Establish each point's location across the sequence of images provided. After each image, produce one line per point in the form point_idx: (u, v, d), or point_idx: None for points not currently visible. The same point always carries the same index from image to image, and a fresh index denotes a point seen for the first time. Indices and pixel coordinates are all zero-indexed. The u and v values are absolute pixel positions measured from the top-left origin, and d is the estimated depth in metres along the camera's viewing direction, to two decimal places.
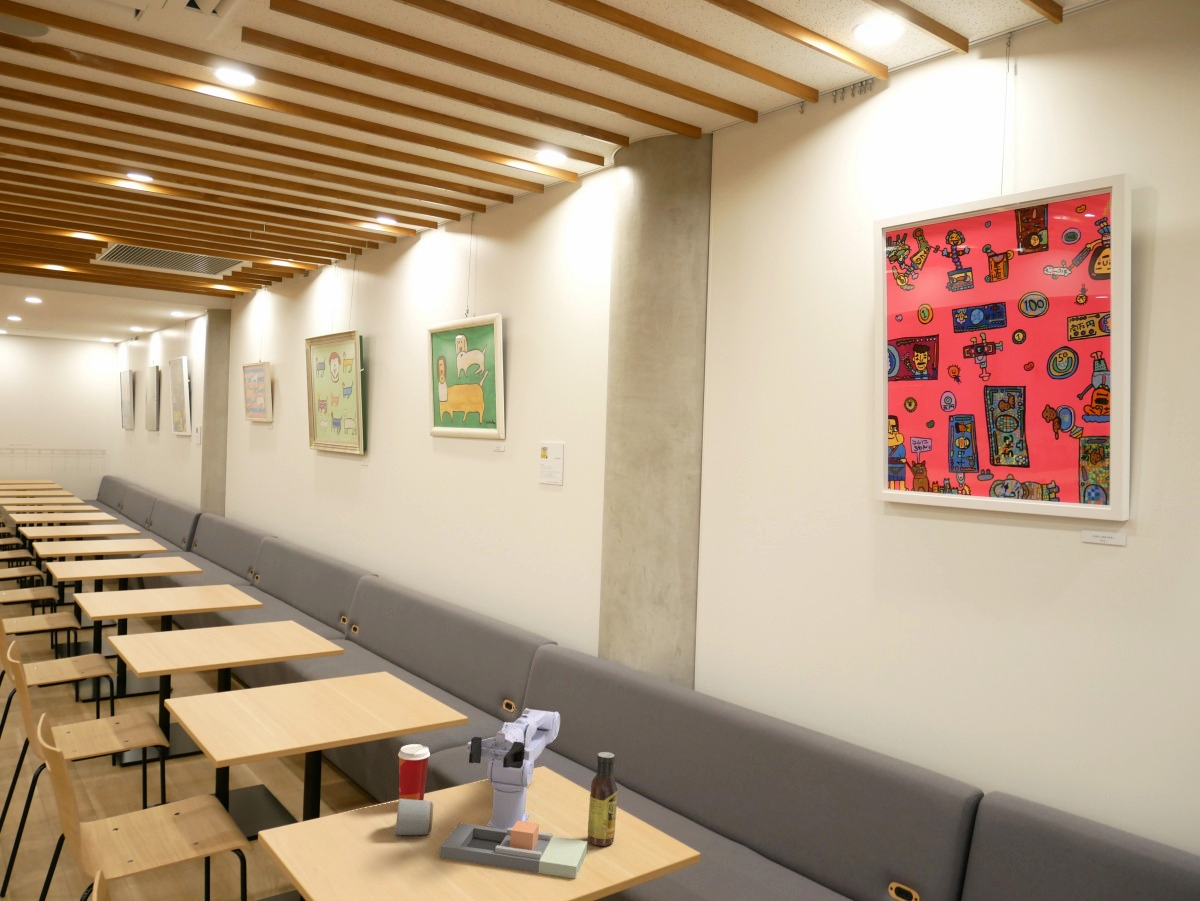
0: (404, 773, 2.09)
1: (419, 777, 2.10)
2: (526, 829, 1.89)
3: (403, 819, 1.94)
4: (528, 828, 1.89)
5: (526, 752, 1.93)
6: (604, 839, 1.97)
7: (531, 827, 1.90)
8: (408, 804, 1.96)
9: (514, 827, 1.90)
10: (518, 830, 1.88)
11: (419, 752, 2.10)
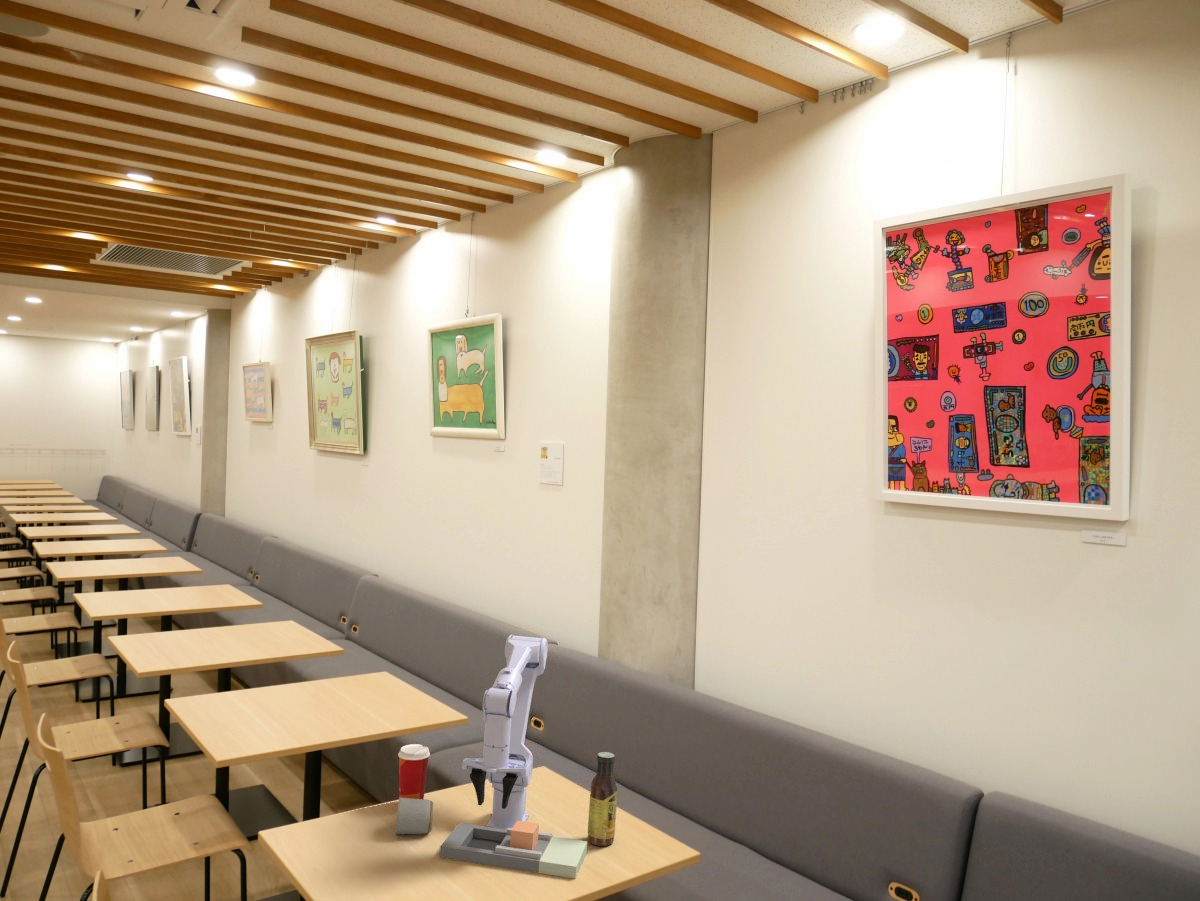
0: (404, 773, 2.09)
1: (419, 777, 2.10)
2: (526, 829, 1.89)
3: (403, 818, 1.95)
4: (528, 828, 1.89)
5: None
6: (604, 839, 1.97)
7: (531, 827, 1.90)
8: (408, 803, 1.97)
9: (514, 827, 1.90)
10: (518, 830, 1.88)
11: (419, 752, 2.10)
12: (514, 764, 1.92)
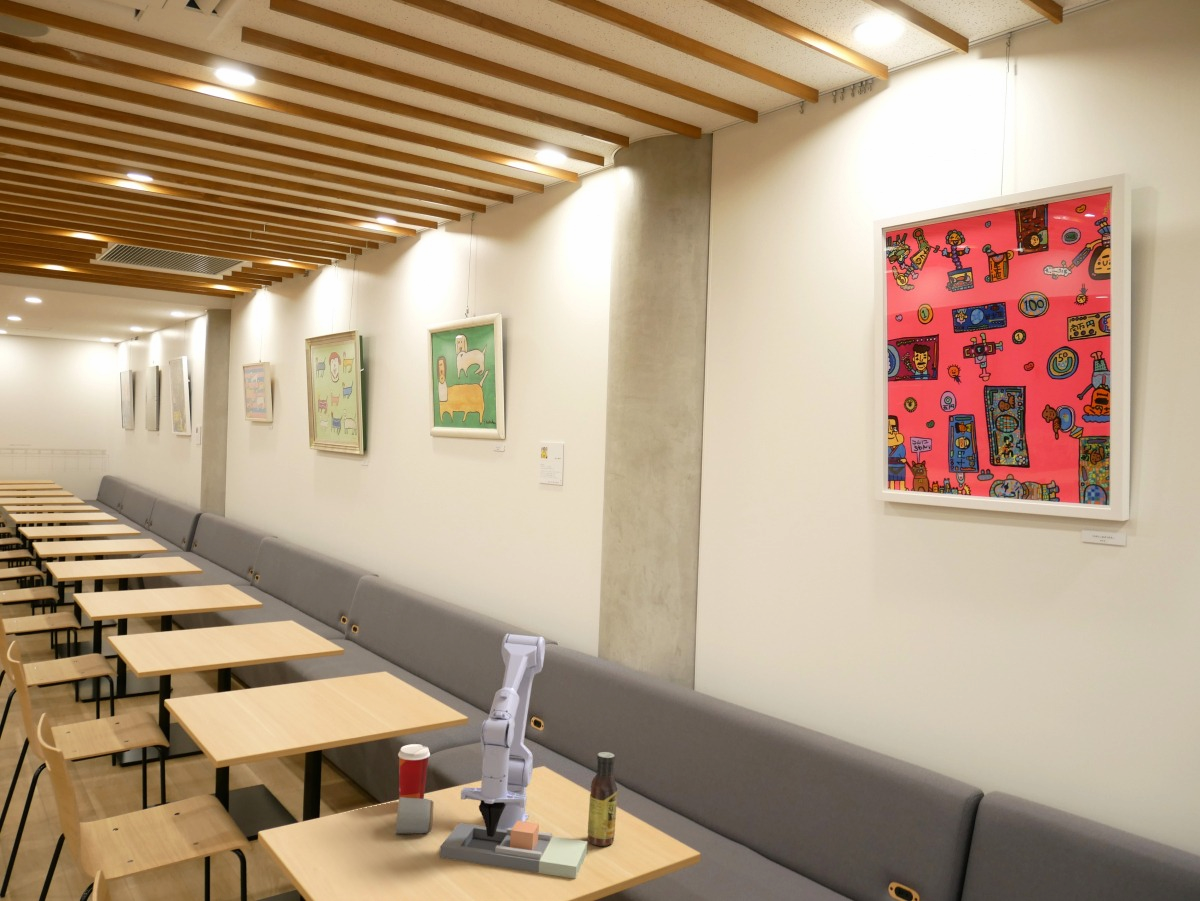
0: (404, 773, 2.09)
1: (419, 777, 2.10)
2: (526, 829, 1.89)
3: (403, 817, 1.95)
4: (528, 828, 1.89)
5: None
6: (604, 839, 1.97)
7: (531, 827, 1.90)
8: (408, 803, 1.97)
9: (514, 827, 1.90)
10: (518, 830, 1.88)
11: (419, 752, 2.10)
12: (512, 794, 1.92)
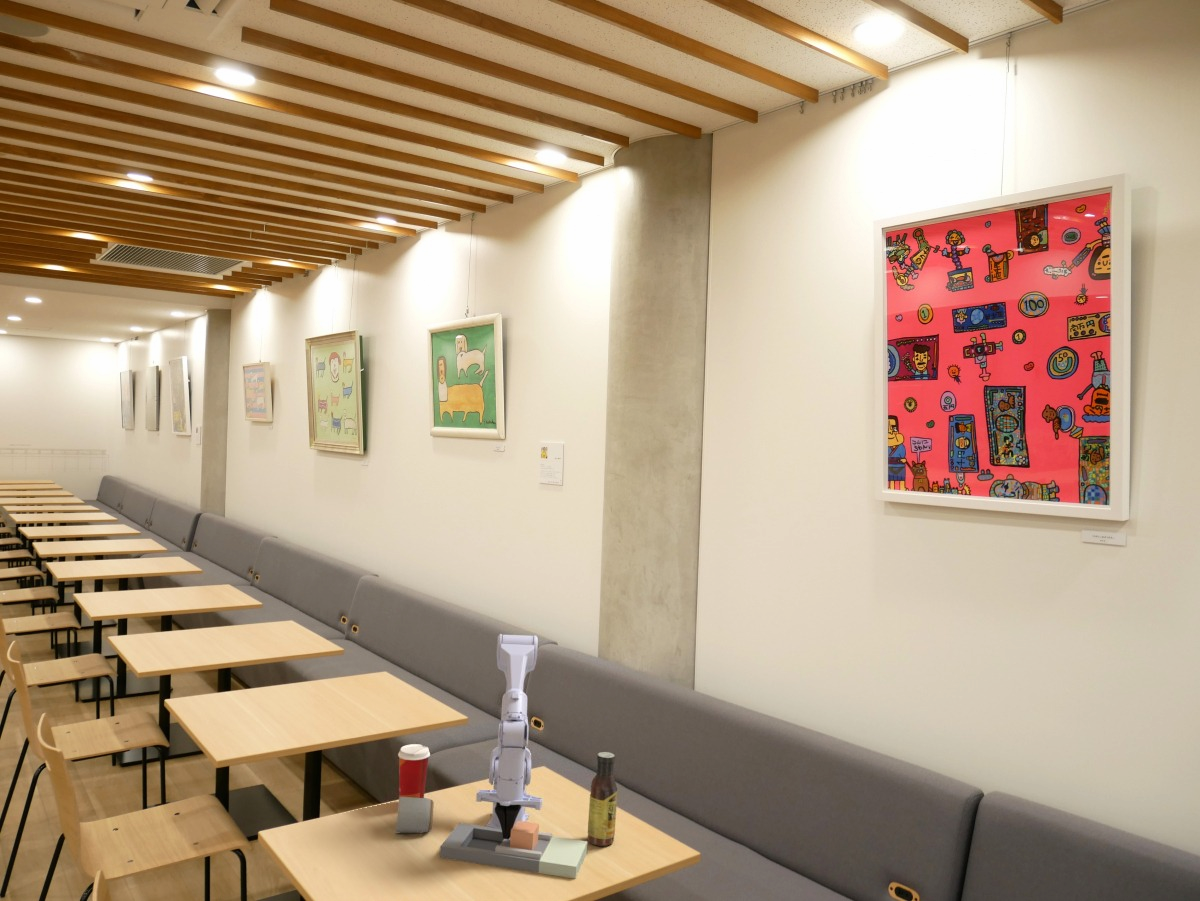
0: (404, 773, 2.09)
1: (419, 777, 2.10)
2: (526, 829, 1.89)
3: (404, 817, 1.95)
4: (528, 828, 1.89)
5: None
6: (604, 839, 1.97)
7: (531, 827, 1.90)
8: (408, 802, 1.98)
9: (514, 827, 1.90)
10: (518, 830, 1.88)
11: (419, 752, 2.10)
12: (528, 796, 1.92)
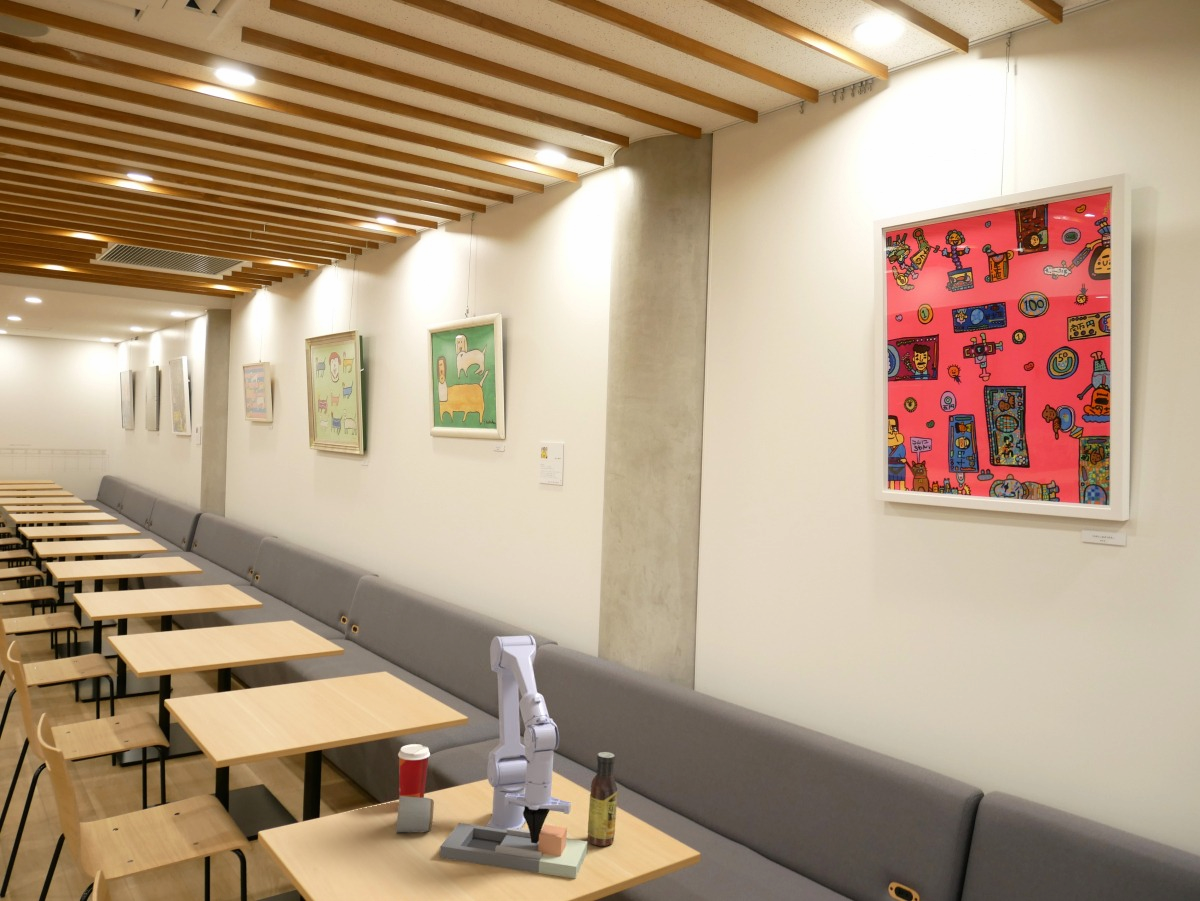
0: (404, 773, 2.09)
1: (419, 777, 2.10)
2: (554, 833, 1.88)
3: (404, 816, 1.96)
4: (556, 833, 1.88)
5: None
6: (604, 839, 1.97)
7: (559, 831, 1.89)
8: (408, 801, 1.98)
9: (542, 831, 1.88)
10: (547, 834, 1.87)
11: (419, 752, 2.10)
12: (556, 800, 1.90)
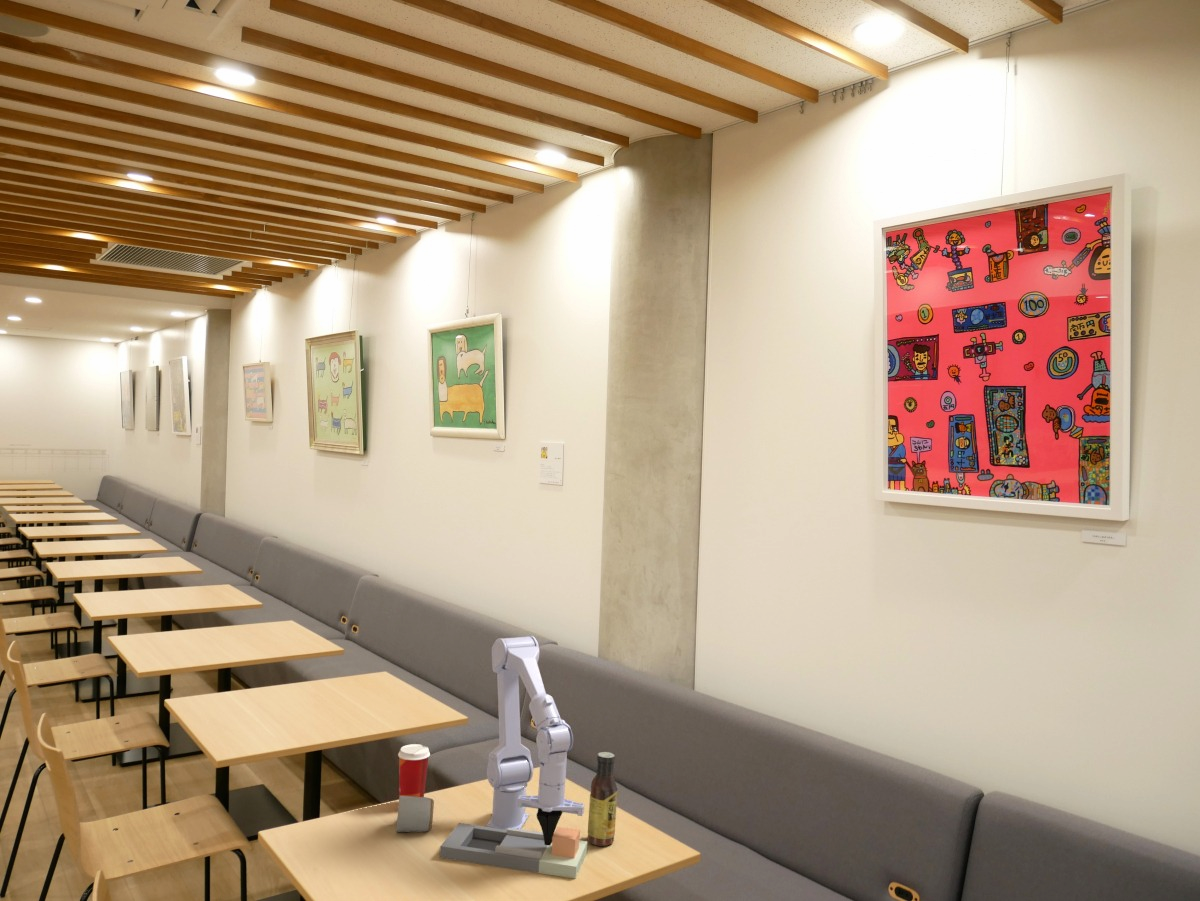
0: (404, 773, 2.09)
1: (419, 777, 2.10)
2: (568, 835, 1.87)
3: (404, 816, 1.96)
4: (570, 835, 1.88)
5: None
6: (604, 839, 1.97)
7: (573, 833, 1.89)
8: (408, 801, 1.98)
9: (555, 833, 1.88)
10: (560, 836, 1.87)
11: (419, 752, 2.10)
12: (569, 801, 1.90)
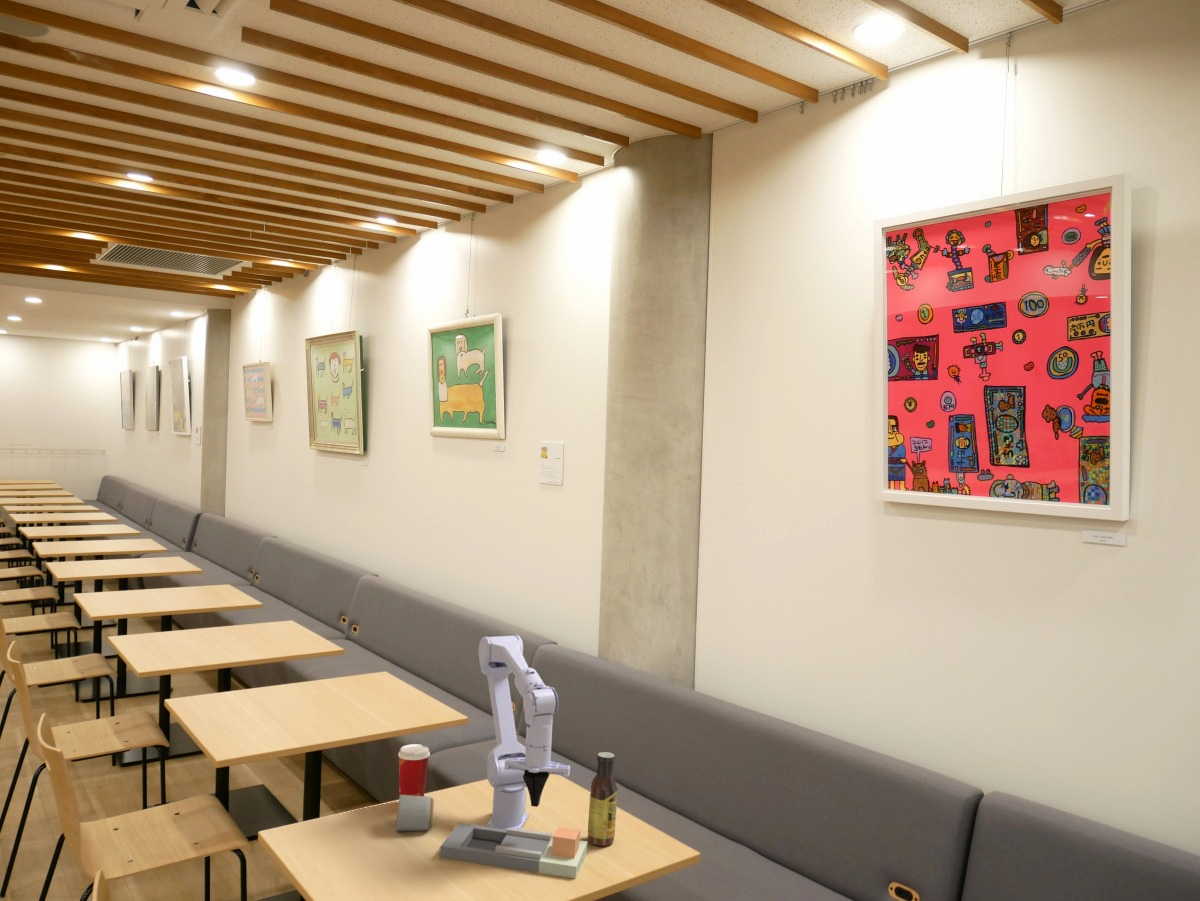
0: (404, 773, 2.09)
1: (419, 777, 2.10)
2: (568, 835, 1.87)
3: (404, 815, 1.96)
4: (570, 835, 1.88)
5: None
6: (604, 839, 1.97)
7: (573, 833, 1.89)
8: (408, 800, 1.99)
9: (556, 833, 1.88)
10: (560, 836, 1.87)
11: (419, 752, 2.10)
12: (556, 764, 1.94)
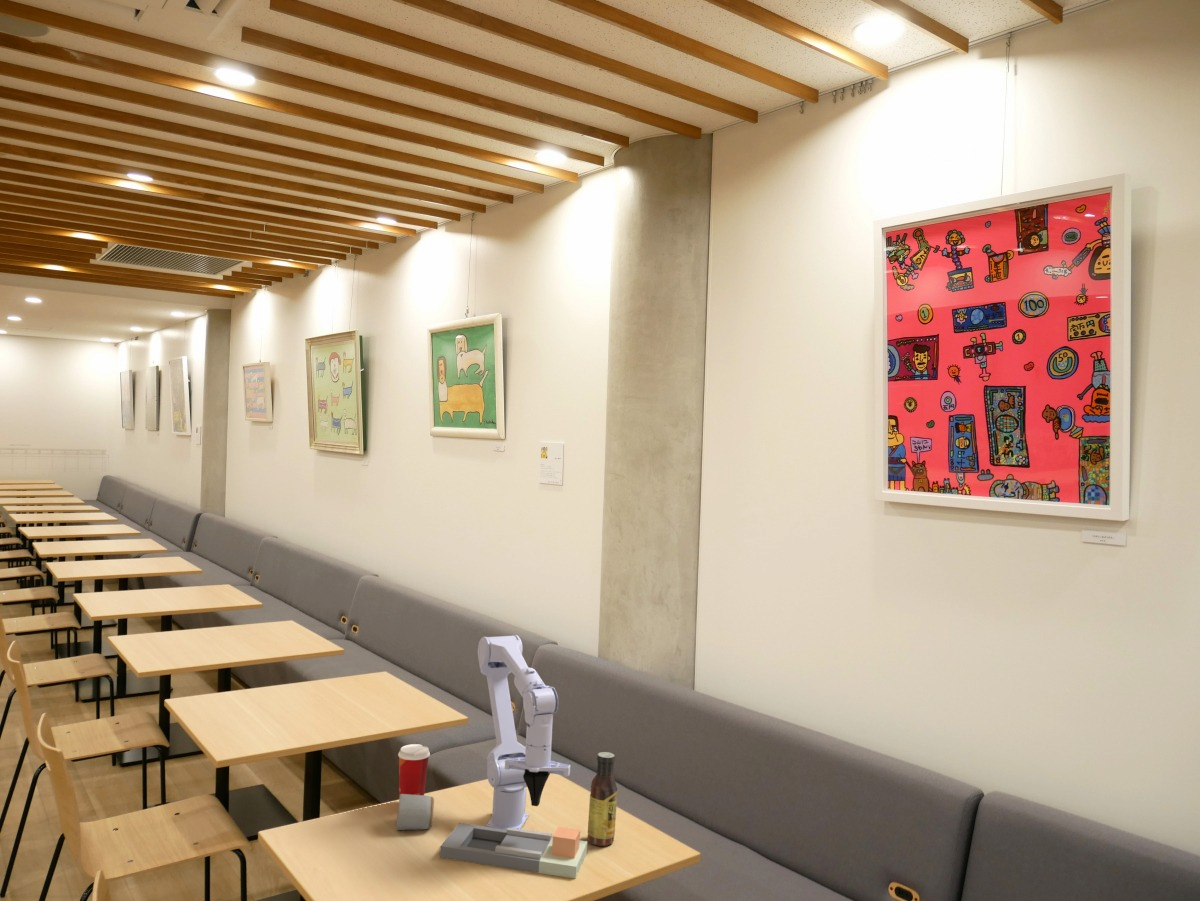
0: (404, 773, 2.09)
1: (419, 777, 2.10)
2: (568, 835, 1.87)
3: (404, 814, 1.97)
4: (570, 835, 1.88)
5: None
6: (604, 839, 1.97)
7: (573, 833, 1.89)
8: (409, 799, 1.99)
9: (556, 833, 1.88)
10: (560, 836, 1.87)
11: (419, 752, 2.10)
12: (556, 763, 1.94)
